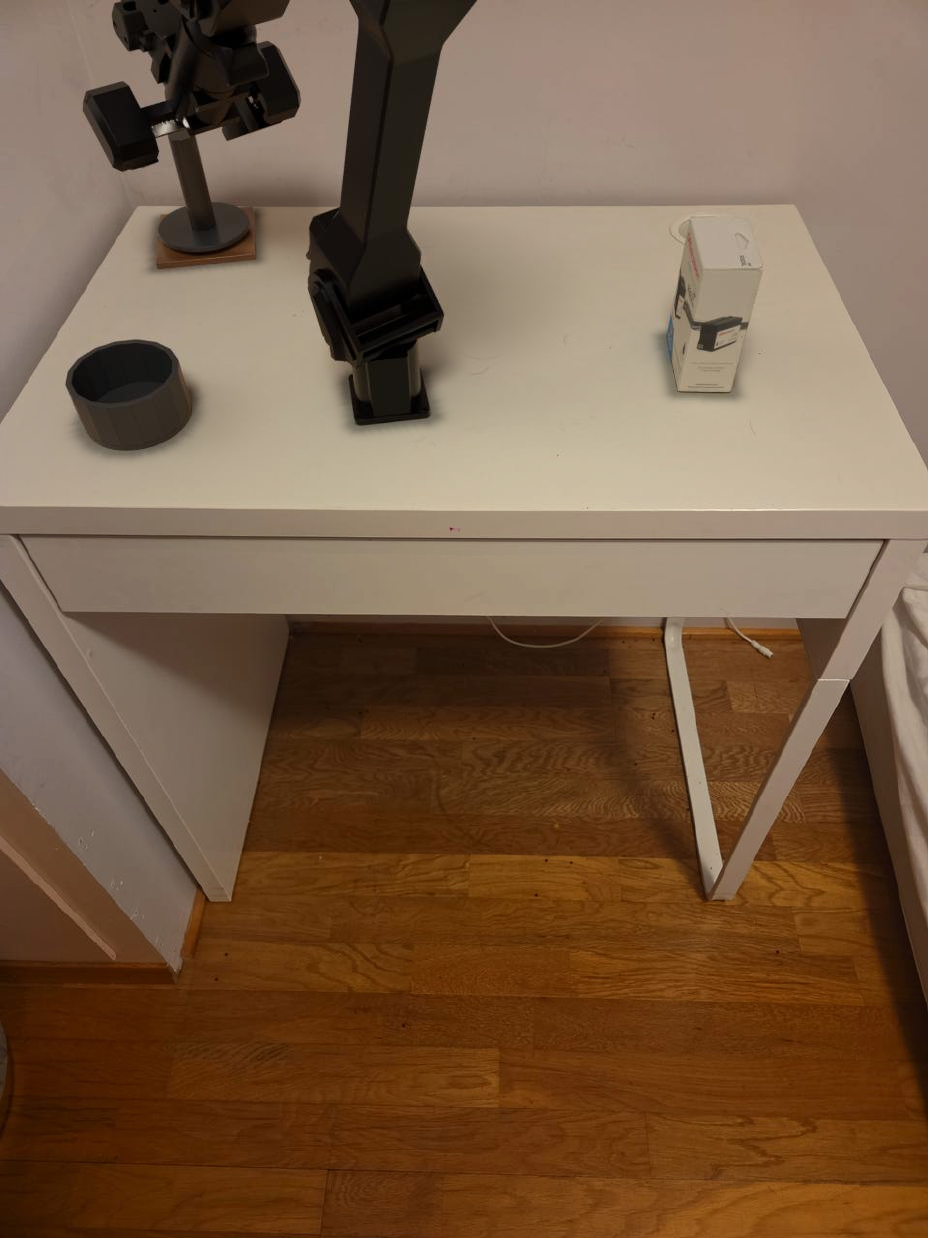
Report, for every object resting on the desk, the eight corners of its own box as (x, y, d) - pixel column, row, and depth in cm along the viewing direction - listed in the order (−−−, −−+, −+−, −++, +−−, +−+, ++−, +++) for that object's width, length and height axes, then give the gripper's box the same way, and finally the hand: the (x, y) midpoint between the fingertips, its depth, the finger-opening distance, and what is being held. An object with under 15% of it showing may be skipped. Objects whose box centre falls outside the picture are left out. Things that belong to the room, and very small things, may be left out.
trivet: (255, 259, 92) (254, 253, 92) (157, 268, 91) (155, 263, 91) (254, 211, 98) (253, 205, 98) (161, 219, 97) (160, 214, 97)
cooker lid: (190, 268, 90) (162, 166, 82) (144, 232, 95) (113, 132, 87) (268, 235, 94) (249, 135, 86) (220, 202, 98) (198, 104, 90)
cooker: (190, 443, 75) (176, 399, 71) (79, 456, 74) (59, 412, 70) (192, 377, 80) (179, 334, 77) (89, 388, 79) (71, 345, 76)
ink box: (664, 335, 83) (688, 212, 74) (718, 336, 83) (748, 212, 74) (675, 393, 78) (702, 268, 69) (732, 393, 78) (766, 268, 69)
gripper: (261, -66, 75) (228, 43, 90) (48, -18, 69) (48, 92, 83) (323, 66, 78) (281, 152, 92) (123, 126, 71) (110, 208, 85)
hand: (183, 148), depth 88 cm, fingers open, 9 cm apart
